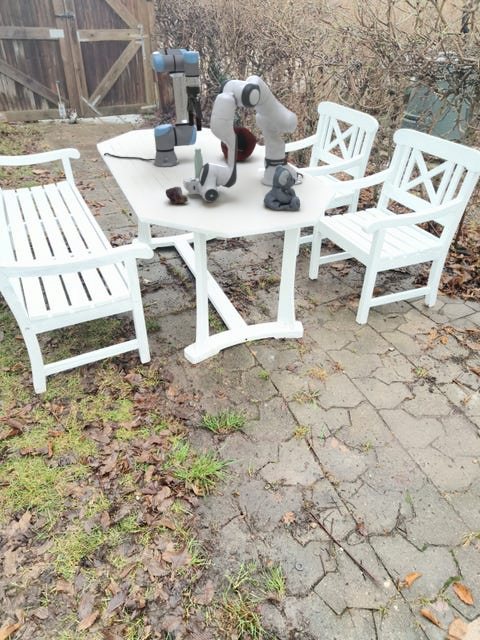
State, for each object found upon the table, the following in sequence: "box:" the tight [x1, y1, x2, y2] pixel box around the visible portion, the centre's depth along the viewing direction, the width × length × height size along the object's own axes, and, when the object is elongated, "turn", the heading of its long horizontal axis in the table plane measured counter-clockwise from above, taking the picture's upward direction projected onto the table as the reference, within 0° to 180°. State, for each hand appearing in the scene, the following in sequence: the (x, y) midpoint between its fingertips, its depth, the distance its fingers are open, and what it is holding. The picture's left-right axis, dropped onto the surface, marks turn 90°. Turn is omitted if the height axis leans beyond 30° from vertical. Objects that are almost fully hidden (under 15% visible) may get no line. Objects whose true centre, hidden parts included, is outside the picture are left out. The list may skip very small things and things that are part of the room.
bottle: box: [193, 147, 204, 178], centre depth 244 cm, size 5×5×22 cm
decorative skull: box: [220, 125, 257, 165], centre depth 297 cm, size 21×24×25 cm
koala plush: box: [263, 165, 301, 211], centre depth 223 cm, size 17×18×20 cm
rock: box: [165, 186, 188, 204], centre depth 232 cm, size 12×9×10 cm
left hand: (195, 128), depth 250 cm, fingers open, 13 cm apart
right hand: (199, 178), depth 248 cm, fingers open, 8 cm apart
